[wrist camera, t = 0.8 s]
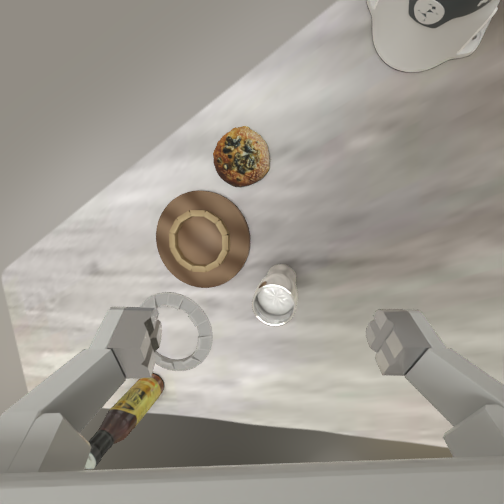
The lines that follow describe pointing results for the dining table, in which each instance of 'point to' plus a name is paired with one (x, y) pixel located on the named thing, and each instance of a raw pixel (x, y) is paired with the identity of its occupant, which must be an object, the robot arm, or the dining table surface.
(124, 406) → the sauce bottle
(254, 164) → the bread roll
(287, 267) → the beer glass
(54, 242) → the dining table surface
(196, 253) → the round tray
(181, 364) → the ring
